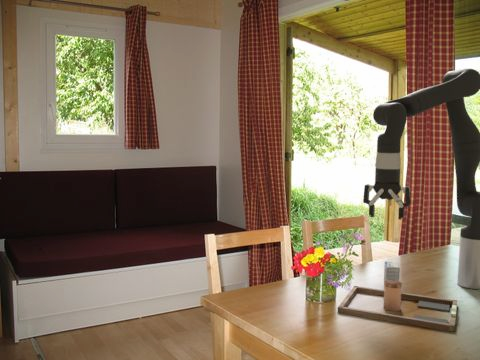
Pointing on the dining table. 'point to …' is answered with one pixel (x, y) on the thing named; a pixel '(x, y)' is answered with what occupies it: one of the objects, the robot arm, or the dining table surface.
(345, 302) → the box
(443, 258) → the dining table surface
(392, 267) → the medicine box
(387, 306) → the terracotta jar
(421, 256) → the dining table surface
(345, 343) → the dining table surface
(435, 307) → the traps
